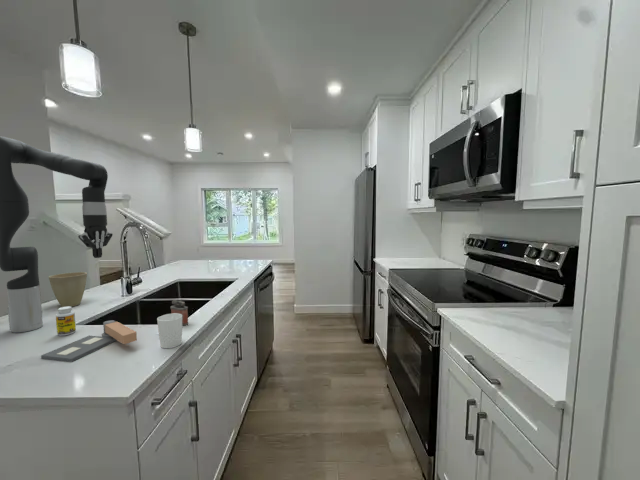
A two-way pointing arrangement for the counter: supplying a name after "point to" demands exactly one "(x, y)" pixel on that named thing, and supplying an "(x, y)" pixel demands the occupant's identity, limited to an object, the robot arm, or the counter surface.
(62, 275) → the plant pot
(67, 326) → the supplement bottle
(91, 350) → the gray base panel
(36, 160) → the robot arm
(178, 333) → the white cup
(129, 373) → the counter surface
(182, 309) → the lighter
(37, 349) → the counter surface
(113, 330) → the swing bar
